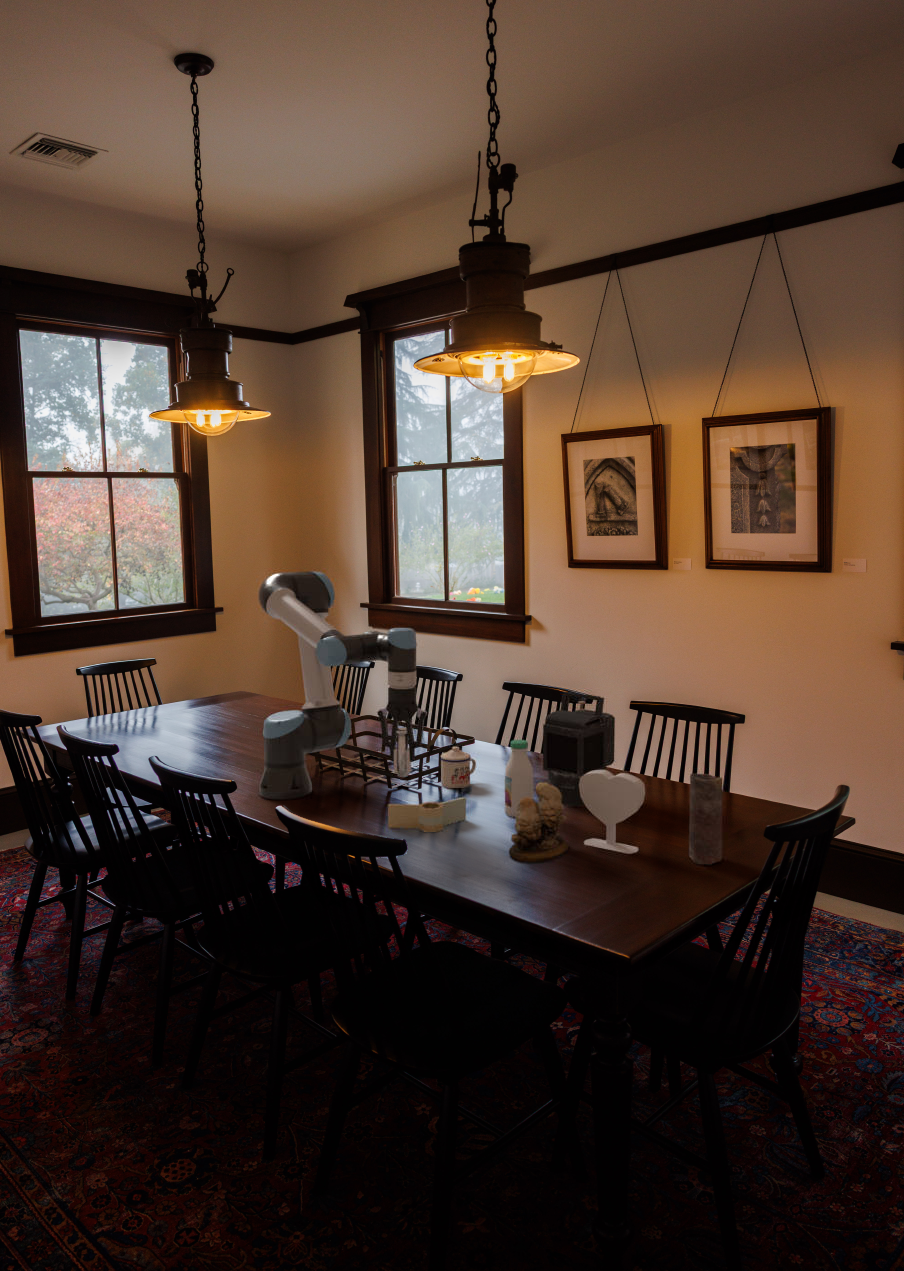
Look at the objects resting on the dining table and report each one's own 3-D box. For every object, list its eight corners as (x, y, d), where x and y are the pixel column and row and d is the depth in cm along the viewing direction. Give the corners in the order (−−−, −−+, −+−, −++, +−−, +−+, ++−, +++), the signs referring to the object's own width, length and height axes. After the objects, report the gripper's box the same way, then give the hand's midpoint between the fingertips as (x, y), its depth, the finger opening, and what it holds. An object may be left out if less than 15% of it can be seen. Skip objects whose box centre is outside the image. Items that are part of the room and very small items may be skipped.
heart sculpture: (645, 848, 207) (646, 775, 205) (637, 855, 203) (638, 780, 201) (585, 836, 216) (586, 766, 213) (576, 842, 211) (577, 771, 209)
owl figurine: (541, 835, 217) (542, 769, 215) (581, 847, 209) (582, 778, 207) (496, 855, 203) (497, 785, 201) (538, 868, 196) (539, 795, 194)
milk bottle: (536, 810, 236) (536, 739, 234) (529, 819, 229) (529, 745, 226) (509, 808, 239) (509, 737, 236) (501, 816, 231) (501, 743, 229)
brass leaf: (386, 831, 221) (386, 808, 220) (390, 823, 227) (390, 800, 226) (441, 833, 219) (441, 810, 218) (444, 824, 225) (444, 802, 224)
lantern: (537, 800, 245) (537, 696, 242) (573, 786, 258) (574, 687, 255) (581, 811, 235) (582, 702, 231) (617, 796, 248) (618, 693, 244)
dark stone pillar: (683, 854, 203) (685, 771, 201) (714, 853, 204) (716, 770, 202) (695, 866, 196) (697, 780, 193) (726, 865, 196) (729, 779, 194)
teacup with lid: (452, 791, 254) (452, 752, 253) (434, 784, 262) (434, 746, 260) (484, 784, 261) (484, 746, 260) (466, 777, 269) (466, 740, 267)
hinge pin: (393, 777, 232) (393, 730, 230) (396, 773, 236) (396, 727, 234) (408, 778, 231) (408, 731, 229) (411, 773, 235) (410, 727, 233)
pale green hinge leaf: (428, 834, 218) (428, 811, 217) (414, 827, 223) (414, 805, 222) (472, 822, 227) (472, 800, 226) (457, 816, 232) (457, 794, 231)
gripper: (370, 688, 227) (370, 775, 230) (429, 689, 226) (429, 777, 229) (375, 683, 235) (376, 767, 238) (433, 684, 233) (433, 769, 236)
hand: (402, 771), depth 233 cm, fingers closed on hinge pin, 3 cm apart
